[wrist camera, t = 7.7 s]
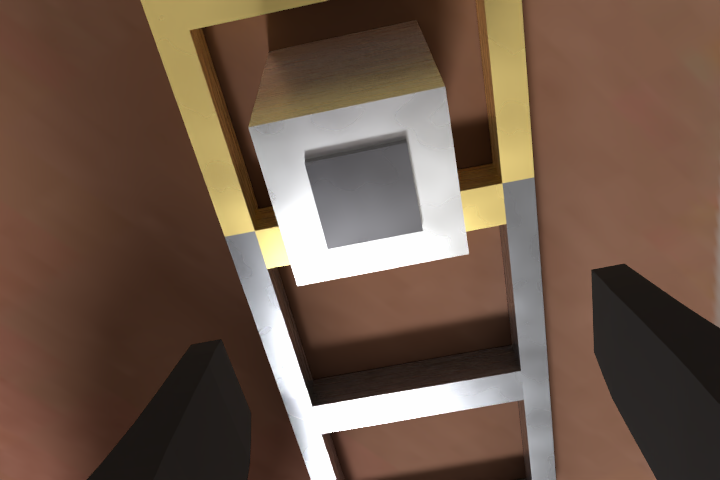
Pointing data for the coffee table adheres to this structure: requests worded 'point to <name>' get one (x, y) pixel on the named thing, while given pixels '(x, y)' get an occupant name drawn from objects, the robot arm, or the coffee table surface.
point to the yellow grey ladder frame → (481, 210)
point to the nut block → (359, 154)
